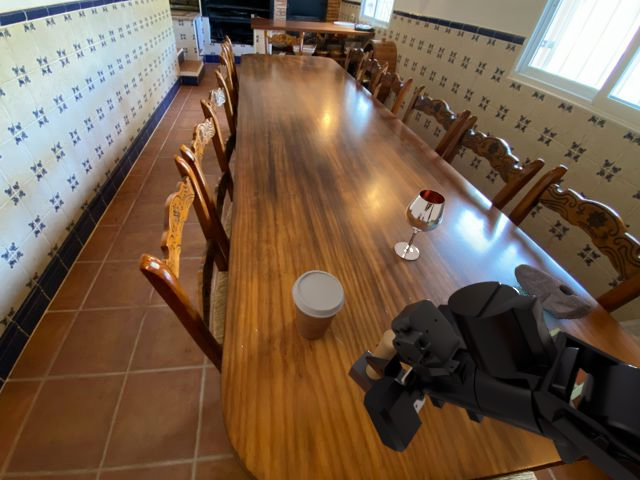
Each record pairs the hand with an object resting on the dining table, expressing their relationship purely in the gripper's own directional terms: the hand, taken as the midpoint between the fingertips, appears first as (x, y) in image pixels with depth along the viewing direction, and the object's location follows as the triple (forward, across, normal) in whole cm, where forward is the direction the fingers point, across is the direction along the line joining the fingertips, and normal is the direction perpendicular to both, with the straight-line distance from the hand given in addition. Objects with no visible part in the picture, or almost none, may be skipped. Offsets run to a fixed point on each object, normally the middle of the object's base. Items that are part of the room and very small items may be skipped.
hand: (372, 353), depth 43 cm
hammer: (+4, 0, +6) cm, 7 cm away
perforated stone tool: (-2, -49, +21) cm, 53 cm away
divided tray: (-6, -29, +25) cm, 39 cm away
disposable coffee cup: (+19, -3, 0) cm, 19 cm away
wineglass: (+18, -38, +1) cm, 42 cm away
